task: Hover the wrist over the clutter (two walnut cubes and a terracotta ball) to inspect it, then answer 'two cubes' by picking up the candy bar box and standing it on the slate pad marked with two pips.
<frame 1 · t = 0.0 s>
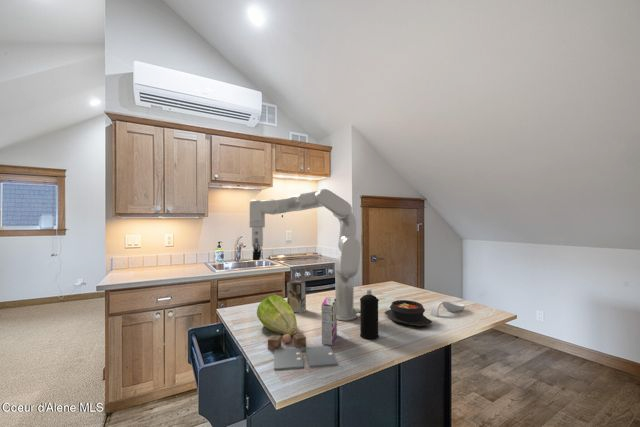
hand: (256, 258, 140), 31 cm above the countertop, fingers open, 9 cm apart
walnut cube b: (274, 347, 112), on the countertop
walnut cube a: (299, 346, 113), on the countertop
lettuce: (279, 330, 130), on the countertop
pad one: (320, 356, 104), on the countertop
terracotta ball: (286, 338, 116), point 2 cm above the countertop
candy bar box: (329, 340, 119), on the countertop
white slipper: (447, 312, 155), on the countertop
pad two: (288, 358, 102), on the countertop
coffee box: (296, 310, 157), on the countertop
casserole: (407, 321, 142), on the countertop
aerosol can: (369, 336, 123), on the countertop
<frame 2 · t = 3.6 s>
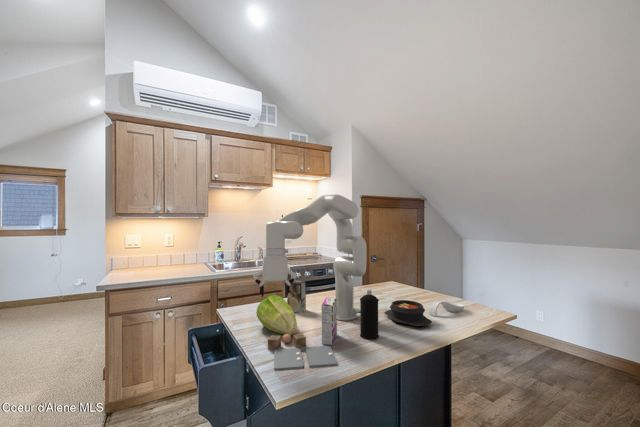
hand: (274, 295, 112), 21 cm above the countertop, fingers open, 9 cm apart
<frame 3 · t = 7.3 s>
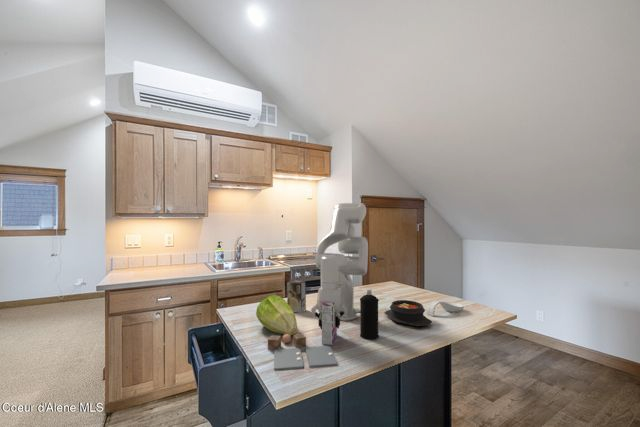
hand: (329, 327, 119), 5 cm above the countertop, fingers closed on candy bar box, 6 cm apart
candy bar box: (329, 340, 119), on the countertop, touching gripper
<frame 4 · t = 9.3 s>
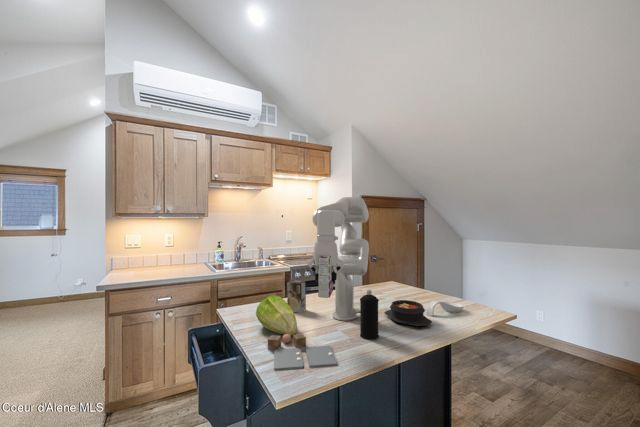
hand: (325, 281, 118), 25 cm above the countertop, fingers closed on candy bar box, 6 cm apart
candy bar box: (325, 294, 118), point 19 cm above the countertop, touching gripper
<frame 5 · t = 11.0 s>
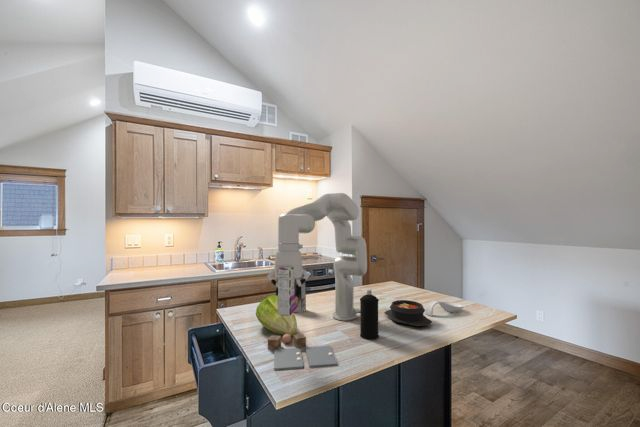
hand: (288, 296, 103), 23 cm above the countertop, fingers closed on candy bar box, 6 cm apart
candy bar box: (288, 311, 103), point 17 cm above the countertop, touching gripper
when the fingers open (6 cm above the countertop, at t = 14.2 s): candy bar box stays where it is, resting on pad two.
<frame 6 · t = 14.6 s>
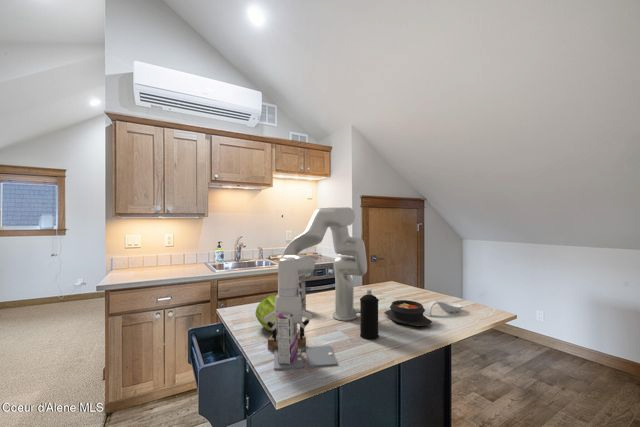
hand: (288, 338, 103), 7 cm above the countertop, fingers open, 9 cm apart
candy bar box: (288, 357, 103), point 1 cm above the countertop, touching pad two
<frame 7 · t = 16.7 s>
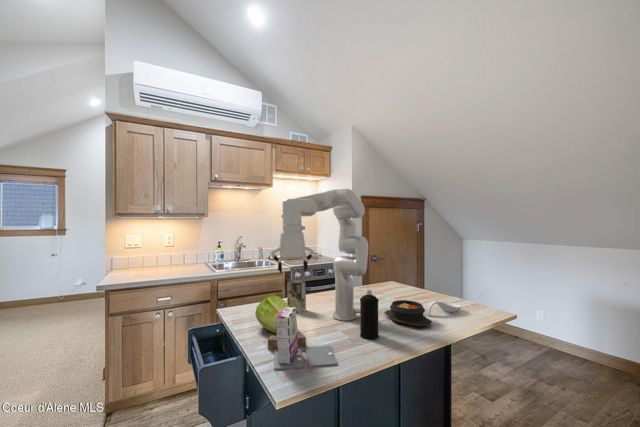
hand: (292, 271, 113), 30 cm above the countertop, fingers open, 9 cm apart
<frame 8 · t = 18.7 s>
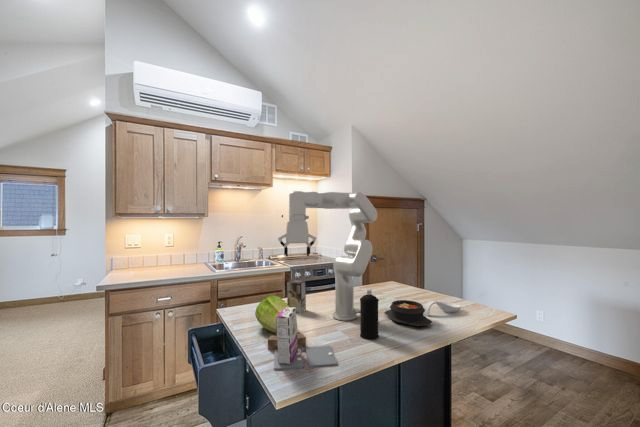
hand: (297, 256, 128), 34 cm above the countertop, fingers open, 9 cm apart
at the end: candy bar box inside the target area on the pad two (0.2 cm from its centre), point 0.5 cm above the pad two's base; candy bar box tilted 3°; the gripper is holding nothing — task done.
